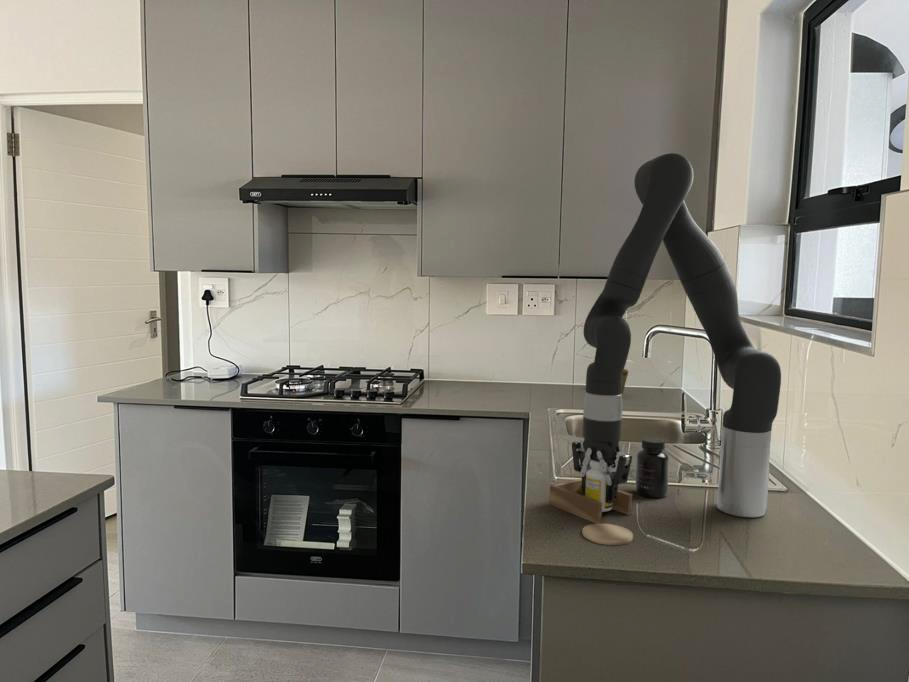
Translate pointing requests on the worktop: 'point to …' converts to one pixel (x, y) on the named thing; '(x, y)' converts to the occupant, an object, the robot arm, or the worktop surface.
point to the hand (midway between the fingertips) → (598, 498)
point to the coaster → (607, 534)
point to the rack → (585, 501)
